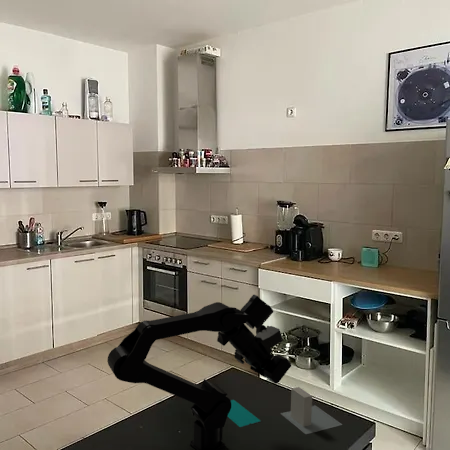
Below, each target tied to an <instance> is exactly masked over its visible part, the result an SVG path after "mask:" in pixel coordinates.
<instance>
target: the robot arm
mask: <svg viewBox="0 0 450 450" xmlns="http://www.w3.org/2000/svg"><path fill="white" fill-rule="evenodd" d="M274 312H275V311H274V309H273V308H272V307H271V306H270V304H267V303H266V301H264V300H263V299H261V298H260V297H259V295H256V294H252V295H251V296H250V298H249V300H247V302H246V303H245V304H244V305H243V306H242V307H241V308H240V309H238V308H237V307H233V306H228V305H226V304H225V303H223V302H219V301H217V302H213V303H211V304H209V305H208V304H207V305H204V306H203V307H202V308H201V309H199V310H197V311H194V312H190V313H188V312H187V313H183V314H178V315H173V316H169V317H163V318H162V317H161V318H157V319H153V320H142V321H141V322H140V323H138V325H137V326H136V327H135V329H134V330H132V331H131V332H130V333H129V334H128V335H127V336H125V337H124V338H123V340H121V342H120V343H119V344H118V346H117V347H114V348H113V349H112V350H111V351H110V352H109V353H108V355H107V365H108V367H109V368H110V370H111V371H112V373H113V375H114V377H115V378H116V379H117V380H118V381H121V382H125V383H126V382H127V383H131V384H146V385H149V386H151V387H153V388H156V389H159V390H161V391H164V392H166V393H168V394H171V395H173V396H175V397H178V398H180V399H182V400H185V401H187V402H190V403H192V406H191V407H190V411H191V414H192V416H194V418H195V419H196V420H195V421H193V440H190V441H189V445H190V446H191V447H193V448H194V449H196V450H221V449H224V448H225V447H226V443H225V442H223V435H224V434H223V432H224V427H225V424H226V422H227V418H228V417H227V416H228V414H229V412H230V410H231V399H230V398H229V397H228V393H227V392H226V391H225V390H223V388H221V387H220V386H219V385H218V384H217V383H214V382H213V383H212V382H210V381H209V380H207V379H206V378H204V379H203V381H202V383H195V382H192V381H191V380H188V379H186V378H183V377H180V376H178V375H176V374H174V373H172V372H171V371H170V372H169V371H168V370H164V369H162V368H160V367H158V366H156V365H153V364H151V363H149V362H148V361H147V360H146V359H147V357H148V354H149V353H150V351H151V348H152V346H153V345H154V344H155V342H156V341H157V340H158V341H159V340H162V339H166V338H167V339H168V338H172V337H176V336H177V337H178V336H182V335H186V334H190V333H196V332H200V331H201V332H203V331H205V332H213V333H217V335H218V336H217V339H216V342H218V343H219V344H220V345H222V346H223V347H224V346H226V345H228V343H230V345H231V346H232V347H233V348H234V349H235V350H234V359H235V360H236V361H237V362H238V363H240V364H241V365H244V364H245V363H246V364H248V365H249V366H250V367H249V369H250V370H252V371H253V372H255V373H256V374H258V375H260V376H262V377H264V378H267V380H268V381H270V382H272V383H273V384H279V383H280V381H281V380H282V379H283V377H284V376H285V375H286V373H287V372H288V371H289V370H290V369H291V367H292V362H291V361H290V360H289V359H288V358H287V357H285V356H283V355H280V354H272V352H273V350H272V348H273V347H275V346H277V345H279V344H281V343H283V341H284V338H283V335H282V333H281V331H280V329H279V328H278V327H276V326H272V325H270V326H269V325H266V326H265V325H264V324H265V322H266V321H268V319H269V318H270V316H272V314H273V313H274ZM249 328H250V329H252V330H253V329H255V328H256V329H255V334H256V335H255V334H254V333H253V332H252V331H251V330H250V329H249Z"/></svg>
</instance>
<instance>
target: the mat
mask: <svg viewBox="0 0 450 450" xmlns="http://www.w3.org/2000/svg"><path fill="white" fill-rule="evenodd" d="M280 415H281V416H282V417H284V418H285V419H286V420H287V421H289V422H290V423H291V424H292V425H294V426H295V427H296V428H298V430H300V431H301V432H302V433H303V434H305V435H309V434H313V433H317V432H320V431H324V430H329V429H331V428H336V427H340V426H343V423H341V422H339V420H337V419H335V418H334V417H333V416H331V415H330V414H328V413H326V412H325V411H324V410H323V409H321V408H320V407H318V406H317V405H312V415H311V425H309V426H305V427H303V426H302V425H300V424H299V423H298V422H297V421H295V420H294V419H293V418H292V417H291V410H289V411H286V412H285V411H284V412H280Z"/></svg>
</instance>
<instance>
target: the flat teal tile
mask: <svg viewBox="0 0 450 450" xmlns="http://www.w3.org/2000/svg"><path fill="white" fill-rule="evenodd" d="M230 400H231V410H230V412H229V414H228V416H227V418H228V419H229V420H230V421H232V423H233V424H235V426H237V427H238V428H244V427H247V426H251V425H255V424H258V423H262V422H263V421H262V419H261V418H259V417H258V416H257V415H255V414H254V413H253V412H251V410H249V409H247V408H246V407H245V406H243V404H241V403H240V402H238V401H237V400H236V399H234V398H232V399H230Z"/></svg>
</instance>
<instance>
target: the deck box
mask: <svg viewBox="0 0 450 450" xmlns="http://www.w3.org/2000/svg"><path fill="white" fill-rule="evenodd" d="M290 389H291V390H290V391H291V392H290V411H291V417H292V418H293V419H294V420H295V421H297V422H298V423H299V424H300V425H302V426H303V427H305V426H309V425H311V415H312V406H313V395H312V394H310V393H309V392H307V391H305V390H304V389H303V388H301V387H300V386H298V387H291V388H290Z"/></svg>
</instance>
